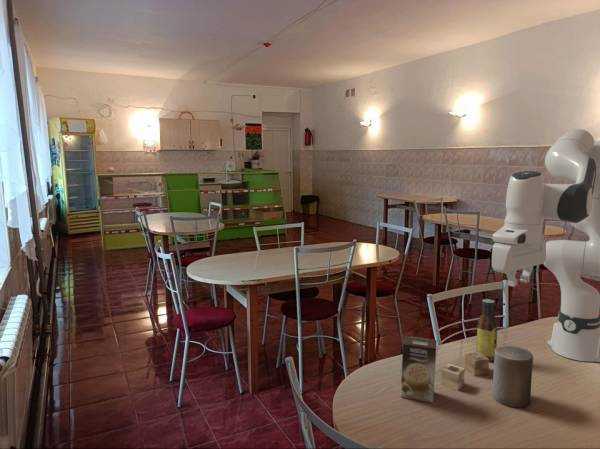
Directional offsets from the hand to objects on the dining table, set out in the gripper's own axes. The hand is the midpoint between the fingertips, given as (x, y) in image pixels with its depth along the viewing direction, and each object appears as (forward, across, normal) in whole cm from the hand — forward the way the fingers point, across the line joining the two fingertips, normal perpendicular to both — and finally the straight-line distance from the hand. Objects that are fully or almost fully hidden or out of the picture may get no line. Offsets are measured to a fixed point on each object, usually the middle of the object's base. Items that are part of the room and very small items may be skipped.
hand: (518, 283), depth 118 cm
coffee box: (+33, +20, -16) cm, 42 cm away
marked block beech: (+33, +7, -14) cm, 37 cm away
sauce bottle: (+33, -17, -19) cm, 42 cm away
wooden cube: (+33, -6, -15) cm, 37 cm away
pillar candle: (+33, 0, 0) cm, 33 cm away
